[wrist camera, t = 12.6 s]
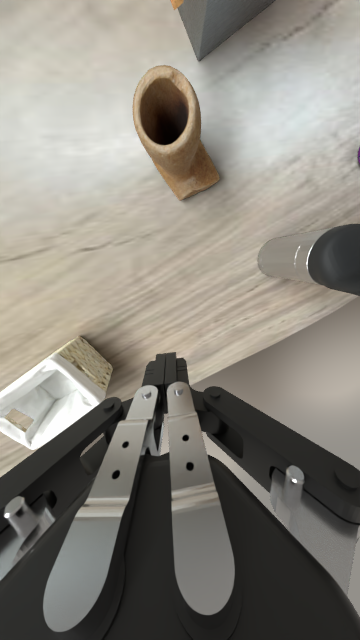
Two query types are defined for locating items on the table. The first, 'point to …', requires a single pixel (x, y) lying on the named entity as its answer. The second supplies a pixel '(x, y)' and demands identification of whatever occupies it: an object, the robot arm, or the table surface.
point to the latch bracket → (216, 20)
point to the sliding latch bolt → (176, 3)
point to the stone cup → (173, 130)
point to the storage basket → (55, 393)
